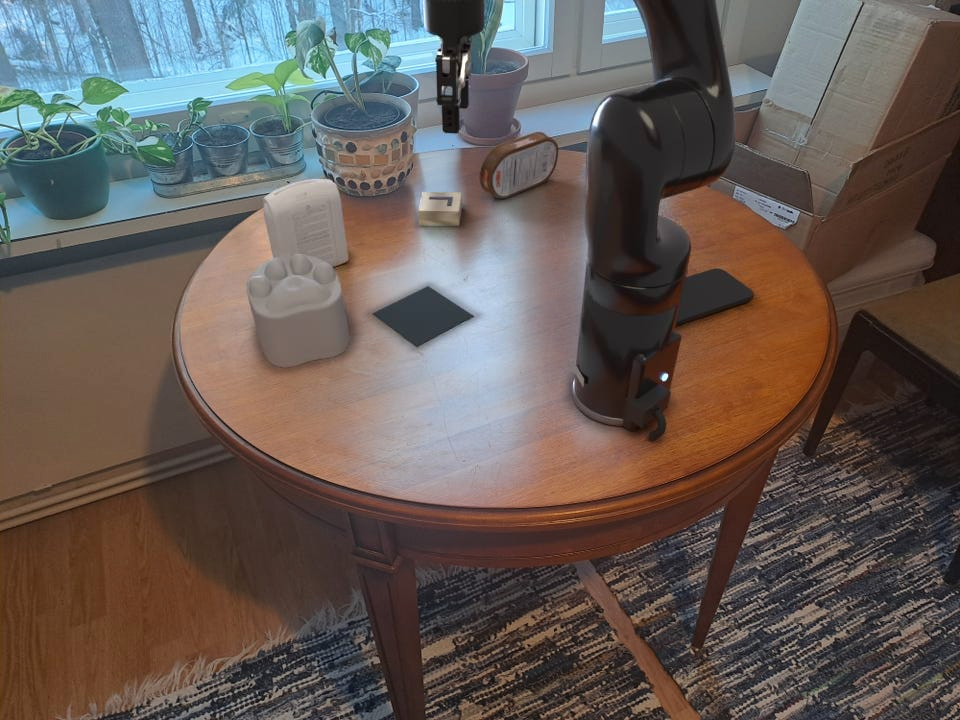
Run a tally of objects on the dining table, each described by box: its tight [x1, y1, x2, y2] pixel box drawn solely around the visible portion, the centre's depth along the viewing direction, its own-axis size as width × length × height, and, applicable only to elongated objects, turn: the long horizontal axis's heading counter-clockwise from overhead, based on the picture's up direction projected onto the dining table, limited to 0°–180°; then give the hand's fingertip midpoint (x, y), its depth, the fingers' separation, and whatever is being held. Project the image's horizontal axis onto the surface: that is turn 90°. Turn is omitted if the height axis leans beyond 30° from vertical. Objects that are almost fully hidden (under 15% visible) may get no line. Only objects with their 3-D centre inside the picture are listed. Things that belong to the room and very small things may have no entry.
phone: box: [675, 268, 755, 327], centre depth 90 cm, size 7×1×15 cm
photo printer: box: [262, 178, 349, 268], centre depth 93 cm, size 10×4×12 cm, turn 123°
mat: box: [372, 285, 474, 347], centre depth 89 cm, size 9×9×1 cm
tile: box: [417, 191, 463, 227], centre depth 107 cm, size 6×6×3 cm
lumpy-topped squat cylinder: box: [246, 253, 351, 369], centre depth 84 cm, size 10×13×9 cm
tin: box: [479, 131, 559, 199], centre depth 112 cm, size 15×3×8 cm, turn 130°
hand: (456, 119), depth 96 cm, fingers open, 8 cm apart
